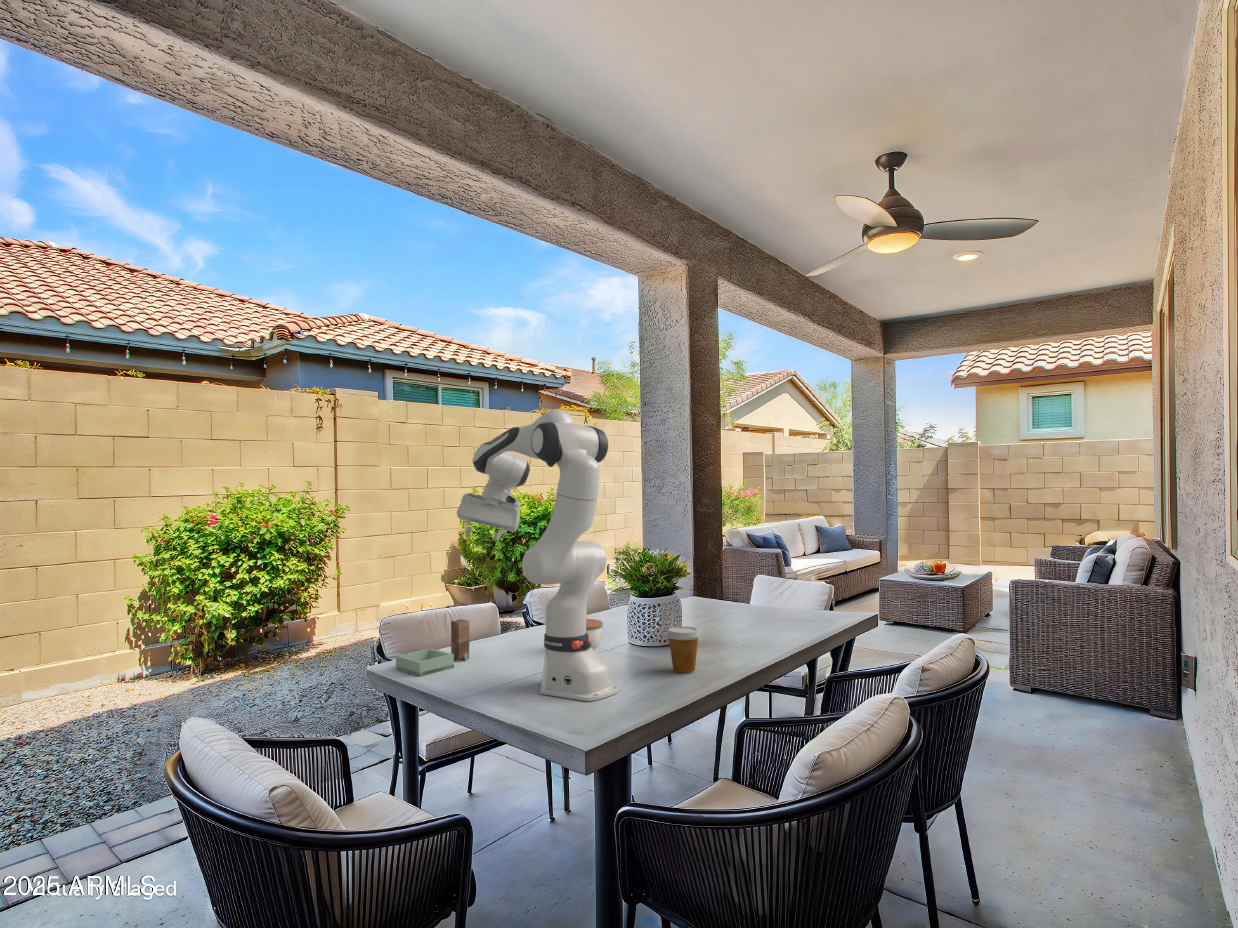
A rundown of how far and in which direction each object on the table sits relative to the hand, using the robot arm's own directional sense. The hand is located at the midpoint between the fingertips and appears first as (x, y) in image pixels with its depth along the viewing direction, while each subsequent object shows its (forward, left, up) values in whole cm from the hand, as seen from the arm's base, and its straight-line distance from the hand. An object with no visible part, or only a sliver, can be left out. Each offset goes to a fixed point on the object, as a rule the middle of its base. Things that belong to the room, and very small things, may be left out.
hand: (481, 536), depth 208 cm
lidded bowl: (-20, -27, -39) cm, 51 cm away
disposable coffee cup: (-60, -26, -39) cm, 76 cm away
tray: (+4, +18, -39) cm, 43 cm away
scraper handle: (+5, +5, -39) cm, 39 cm away
